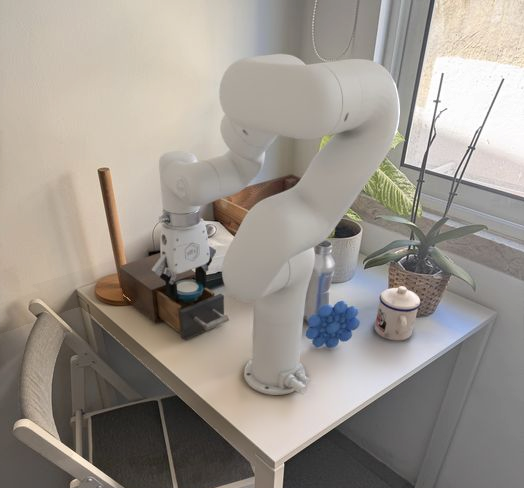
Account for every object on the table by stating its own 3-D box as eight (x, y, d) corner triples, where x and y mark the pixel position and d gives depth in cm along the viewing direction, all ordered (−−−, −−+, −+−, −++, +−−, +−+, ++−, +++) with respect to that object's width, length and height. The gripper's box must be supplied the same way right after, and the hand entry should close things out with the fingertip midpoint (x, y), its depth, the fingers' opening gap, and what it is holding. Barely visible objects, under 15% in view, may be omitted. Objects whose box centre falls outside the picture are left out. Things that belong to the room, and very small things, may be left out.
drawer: (238, 331, 117) (238, 304, 112) (198, 350, 110) (196, 322, 106) (190, 299, 127) (188, 273, 123) (150, 314, 121) (147, 287, 117)
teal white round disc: (210, 298, 116) (209, 287, 114) (184, 308, 112) (183, 298, 110) (191, 286, 120) (190, 276, 119) (165, 296, 116) (164, 285, 115)
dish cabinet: (198, 305, 127) (197, 273, 121) (155, 323, 120) (151, 289, 114) (165, 283, 135) (162, 251, 130) (123, 298, 128) (118, 266, 123)
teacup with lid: (370, 319, 124) (379, 277, 117) (408, 321, 124) (418, 278, 117) (378, 348, 115) (387, 304, 108) (418, 350, 115) (430, 306, 108)
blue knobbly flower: (351, 336, 118) (359, 291, 111) (357, 353, 113) (365, 307, 106) (301, 336, 118) (306, 291, 110) (305, 354, 112) (310, 307, 105)
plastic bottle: (328, 313, 126) (338, 238, 114) (328, 329, 120) (338, 251, 108) (302, 311, 126) (309, 236, 114) (301, 326, 121) (308, 249, 109)
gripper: (156, 232, 98) (163, 311, 108) (226, 211, 108) (227, 285, 118) (135, 220, 102) (144, 297, 113) (204, 201, 112) (207, 273, 122)
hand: (187, 290), depth 115 cm, fingers closed on teal white round disc, 7 cm apart
